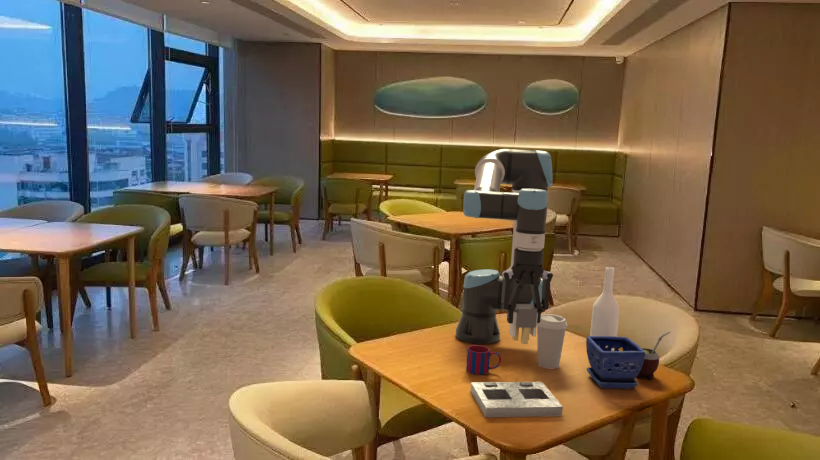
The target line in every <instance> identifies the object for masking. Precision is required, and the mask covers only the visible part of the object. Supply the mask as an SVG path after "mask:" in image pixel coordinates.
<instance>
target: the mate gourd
mask: <svg viewBox="0 0 820 460" xmlns="http://www.w3.org/2000/svg"><path fill="white" fill-rule="evenodd" d="M670 333H671V331H668V332H666V333H663V334H662V335H661V336H659V338H658V339H657V342H656V343H655V346H654V348H653V349H652V348H645V347H641V348H642V349H643V350H644V352H645V358H644V362H643V365H642V368H641V370H640V372H639V374H638V375H637V377H636V378H635V379H642V377H643V378H645V379H647V380H649V381H650V380H652V381H653V377H654V375H655V374H654V373H655V372H657V369H658V368H659V365H660V356H659V354H658V352H657V351H656V350H657V348H658V346H659V344H660V342H661V341H662V339H663V337H665V336H667V335H668V334H670Z"/></svg>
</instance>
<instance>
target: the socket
mask: <svg viewBox="0 0 820 460" xmlns="http://www.w3.org/2000/svg"><path fill="white" fill-rule="evenodd" d="M470 394H471V395H472V397H473V398H474V400H475V401H476V403H477V405H478V407H479V409H480V411H481V412H482V415H483V416H484V418H522V417H523V418H525V417H527V418H528V417H531V418H533V417H534V418H535V417H563V412H564V411H563V410H564V406H563V405H562V404H561V402H560V401H559V399H557V398H556V397H555V395H553V393H552V392H551V391H550V390H549V389H548V387H547V386H546V385H545V384H544V383H543V382H542V381H488V382H487V381H486V382H485V381H483V382H482V381H480V382H478V381H476V382H475V381H473V382H470Z"/></svg>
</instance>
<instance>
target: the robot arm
mask: <svg viewBox="0 0 820 460" xmlns="http://www.w3.org/2000/svg"><path fill="white" fill-rule="evenodd" d="M474 175H475V176H474V177H475V178H476V179H475V182H474V187H473V189H469V190H468V189H467V190H465V191H464V194H463V205H462V206H463V207H462V209H463V210H462V213H463V216H465V217H467V218H474V219H488V220H490V219H492V220H505V221H513V230H512V231H513V232H512V244H511V258H510V266H509V267H508V268H507V269H506V270H502V271H501V273H500V272H499V271H498V270H496V269H491V268H490V269H487V268H486V269H475V270H471V271H469V272H467V273H466V274H465V276H464V281H463V285H462V287H463V293H462V294H463V297H462V309H461V316H460V318H459V320H458V323H457V326H456V327H455V338H457V339H458V340H460V341H462V342H465V343H469V344H473V345H488V344H489V345H490V344H495V343H497V342H499V341H500V339H501V338H500V337H501V331H500V328H499V323H498V320H497V319H498V318H497V310H498V311H507V312H506V313H507V314H506V321H507V323H508V324H509V331H508V333H509V335H510V336H511V338H513V337H515V333H516V319H517V312H516V311H515V307H516V304H531V305H533V306H534V307H535V308H537V320H536V328H530V332H529V335H531V336H532V337H536V336H537V323H540V319H541V315H542V313H544V311H545V310H548V309H549V308H550V305H549V304H550V292H551V283H552V282H551V281H552V279H553V277H554V274H553V273H552V272H550V271H549V270H548V271H547V270H544V267H543V264H544V254H545V253H544V252H545V251H544V250H543V249H544V248H545V240H546V238H545V237H546V224H547V216H548V215H547V213H548V206H549V193H548V188H551V187H553V163H552V156H551V154H550V153H549V152H548V151H545V150H537V149H533V150H532V149H513V148H512V149H511V148H501V149H496V150H493V151H490V152H489V153H486V154H485V155H484V156H482V157H481V158H480V159H479V160H478V161H477V163H476V165H475V169H474ZM501 185H508V186H509V185H510V186H511V191H512V192H506V191H505V192H504V191H500V189H501ZM500 274H501V275H500ZM541 276H542V277H541Z"/></svg>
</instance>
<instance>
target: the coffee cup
mask: <svg viewBox="0 0 820 460" xmlns="http://www.w3.org/2000/svg"><path fill="white" fill-rule="evenodd" d="M568 326H569V325H568V323H567V320H566V318H565V317H563V316H561V315H558V314H551V313H546V314H541V319H540V323H537V329H536V336H537V337H536V339H537V340H536V341H537V344H536V346H537V365H538V366H539V367H541V368H544V369H550V370H552V369H553V370H554V369H558V368H559V367H560V363H561V358H562V353H563V352H562V351H563V346H564V340H565V334H566V330H567V328H568Z"/></svg>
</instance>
